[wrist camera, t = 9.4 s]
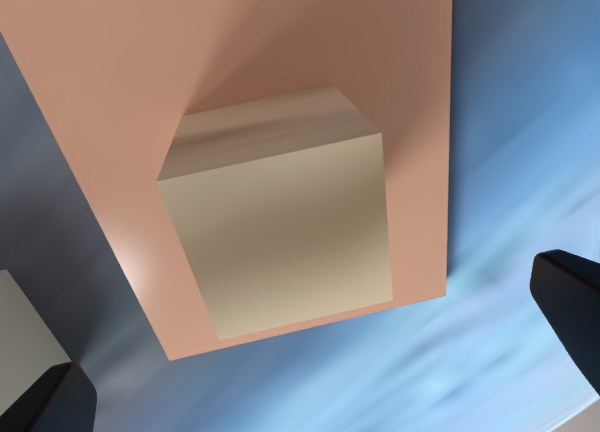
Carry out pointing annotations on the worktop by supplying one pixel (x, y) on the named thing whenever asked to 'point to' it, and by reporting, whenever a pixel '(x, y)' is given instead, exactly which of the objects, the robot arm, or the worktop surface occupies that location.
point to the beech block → (280, 209)
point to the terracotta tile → (226, 92)
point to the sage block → (22, 343)
